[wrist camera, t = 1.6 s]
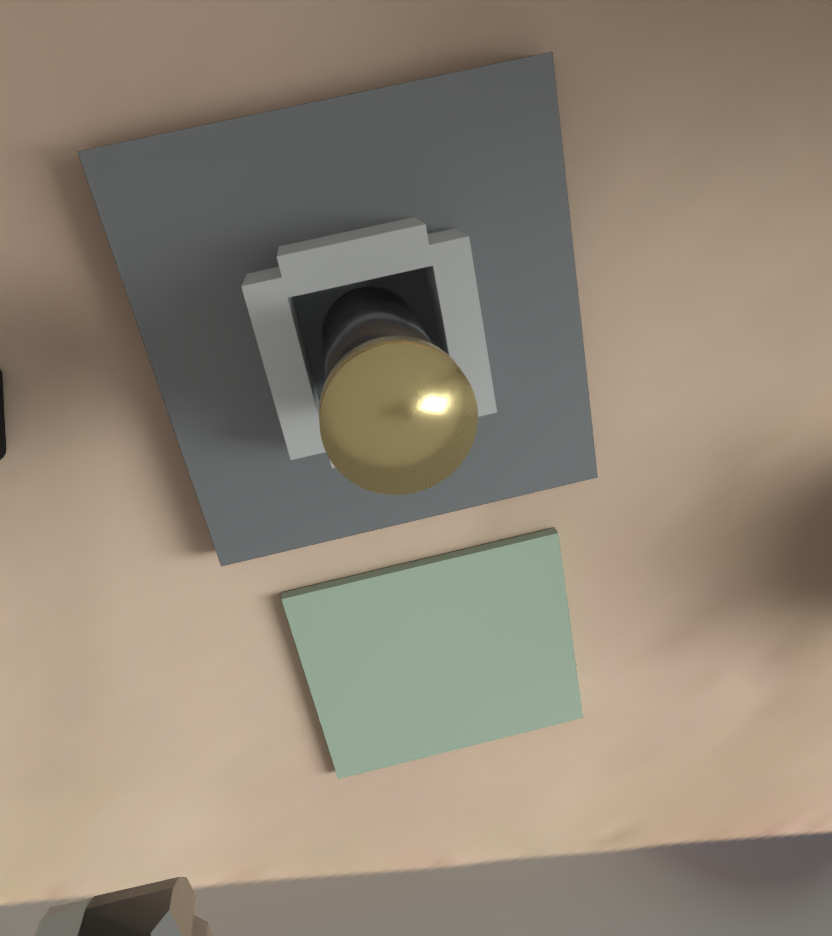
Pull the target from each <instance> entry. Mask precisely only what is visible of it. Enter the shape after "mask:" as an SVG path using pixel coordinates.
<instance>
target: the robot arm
mask: <svg viewBox="0 0 832 936" xmlns="http://www.w3.org/2000/svg"><path fill="white" fill-rule="evenodd" d="M195 900H196V895H195V893H194V891H193V889H192V887H191V885H190V883H189V881H188V879H187V877H177V878H172V879H168V880H163V881H159V882H155V883H150V884H146V885H141V886H137V887H133V888H128V889H124V890H119V891H115V892H111V893H106V894H102V895H98V896H94V897H91V898H87V899H83V900H79V901H74V902H70V903H66V904H61V905H57V906H53V907H50V908H49V909H48V911H47V912H46V914H45V915H44V916H43V917H42V919H41V920H40V922H39V924H38V927H37V930H36V933H35V935H34V936H214V935H213V933H212V931H211V928H210V926H209V924H208V922H207V921H205V920H203V919H201V918H199V917H197V916H195V915H194V908H195Z"/></svg>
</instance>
